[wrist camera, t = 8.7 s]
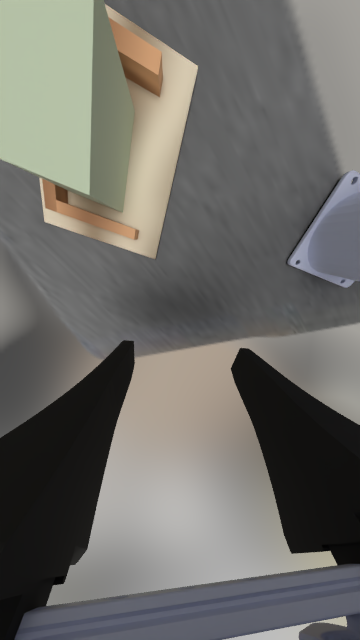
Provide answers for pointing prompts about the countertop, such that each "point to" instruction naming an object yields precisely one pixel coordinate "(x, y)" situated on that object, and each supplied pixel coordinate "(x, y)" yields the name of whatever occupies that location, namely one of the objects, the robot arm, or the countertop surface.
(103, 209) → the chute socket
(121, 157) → the chute block
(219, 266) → the countertop surface
